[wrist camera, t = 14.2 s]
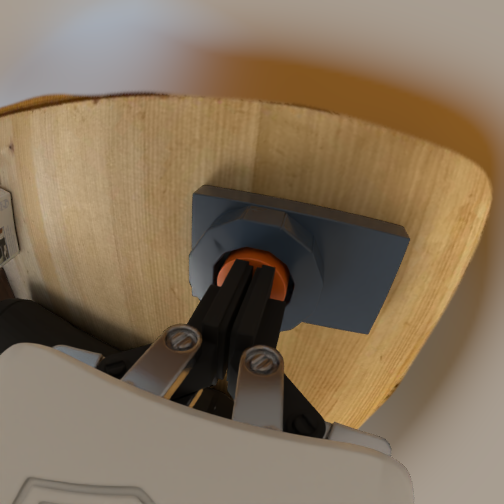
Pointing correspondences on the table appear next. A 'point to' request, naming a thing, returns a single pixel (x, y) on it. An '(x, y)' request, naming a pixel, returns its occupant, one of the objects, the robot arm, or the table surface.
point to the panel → (300, 254)
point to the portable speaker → (76, 343)
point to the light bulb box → (7, 229)
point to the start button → (257, 260)
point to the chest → (4, 287)
